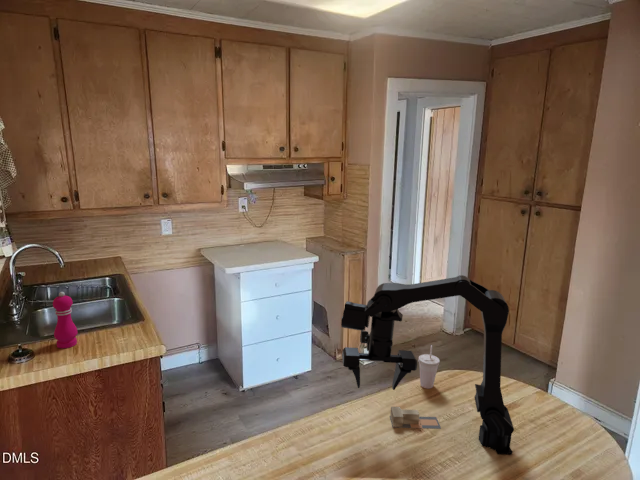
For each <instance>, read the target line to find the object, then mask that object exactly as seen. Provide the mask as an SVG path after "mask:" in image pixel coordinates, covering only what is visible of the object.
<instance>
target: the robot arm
mask: <svg viewBox="0 0 640 480" xmlns="http://www.w3.org/2000/svg"><path fill="white" fill-rule="evenodd" d="M458 296H460V297H461V298H463V299H465V300H466V301H467V302H469V303H470V304H471V305H472V306H473V307H475V308H476V309H477V310H479V311H480V315H481V321H482V326H483V359H482V360H483V361H482V364H483V365H482V370H483V371H482V381H481V383H480V384H478V383H475V384H474V386H475V394H474V402H475V406H476V412H477V413H479V414H480V418H481V420H482V421H481V422H482V424H481V425H480V426H479V431H478V438H477V439H478V441H479V443H480V445H481V446H482V447H485V448H489V449H490V450H493V451H495V453H496V454H497V455H513V452H514V451H513V449H512V448H511V441H512V436H513V432H514V431H515V428H514V425H513V421H512V418H511V415H510V412H509V409H508V407H507V406H506V405H505V403H504V399H503V395H502V389H501V381H502V380H501V376H502V374H501V372H502V349H503V347H502V343H503V341H502V338H503V332H504V330H505V327H506V326H507V322H508V317H509V314H510V309H509V308H510V307H509V305H508V302H507V301H506V300H505V298H504V296H503V294H502V293H500V291H497V290H493V289H488V288H486V287H485V286H483V285H481V284H480V283H477V282H475V281H474V280H471V279H470V278H469V277H468V276H466V275H457V276H455V277H448V278H442V279H436V280H430V281H425V282H418V283H411V284H406V283H405V284H404V283H399V282H383V283H381V284H379V285H378V286H377V288H376V289H375V292H374V295H373V296H372V297H371V298H370V299H369V300H368V301H367V303H366V304H363V303H355V302H352V301H347V300H346V301H345V304H344V309H343V312H342V313H343V314H342V317H341V322H340V324H341V328H343V329H350V330H354V331H355V330H356V331H360V335H359V336H360V337H359V338H360V339H359V342H360V343H361V344H366V350H367V352H368V353H367V352H366V353H364V352H362V353H361V352H359V348H358V347H350V346H349V347H347V346H345V347H344V348H343V349H342V351H341V352H342V353H341V358H342V359H341V360H342V364H343V367H345V368H347V369H348V370H349V371H352V373H353V375H354V378H355V381H356V382H355V383H356V386H357V388H358V389H360V388H361V367H360V362H371V363H372V362H375V363H392V364H393V363H394V364H395V368H394V369H395V370H394V374H393V378H392V384H391V385H392V386H391V388H392V390H393V391H395V390H396V388H397V387H398V386H399V384H400V382H401V381H402V380H403V379H404V378H405V376H406V375H407V374H411V373H412V371H417V369H418V360H417V358H416V355H415V354H414V352H413V351H412V350H404V349H399V350H398V351H397V354H392V348H393V343H394V342H393V339H394V332H395V331H394V329H395V321H396V322H402V321H403V317H404V314H403V313H402V312H401V311H400V310H399V309H401V308H403V307H405V306H408V305H409V304H412V303H417V302H426V301H433V300H438V299H439V300H440V299H445V298H451V297H452V298H453V297H458ZM370 320H371V322H370ZM370 323H371V326H370ZM369 326H370V333H369V331H368V330H366V328H369Z"/></svg>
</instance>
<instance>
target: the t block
mask: <svg viewBox="0 0 640 480" xmlns="http://www.w3.org/2000/svg"><path fill="white" fill-rule="evenodd" d="M390 417H391V420H390V422H391V421H392V423H391V426H392V425H393V427H403V424H419V417H420V413H419V410H418V409H402V408H401V406H390V415H389V418H390ZM393 427H392V428H393Z"/></svg>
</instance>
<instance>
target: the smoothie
mask: <svg viewBox="0 0 640 480" xmlns="http://www.w3.org/2000/svg"><path fill="white" fill-rule="evenodd" d="M417 362H418V364H419V382H420V387H422V388H424V389H432V388H433V387H434V383H435V381H436V375H437V372H438V371H437V370H438V367H439V365H440V362H441V361H440V358H439V357H437V356H435V355H433V345H432V344H430V349H429V354H428V353H425V354H424V353H423V354H420V355H419V356H418V360H417Z"/></svg>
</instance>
